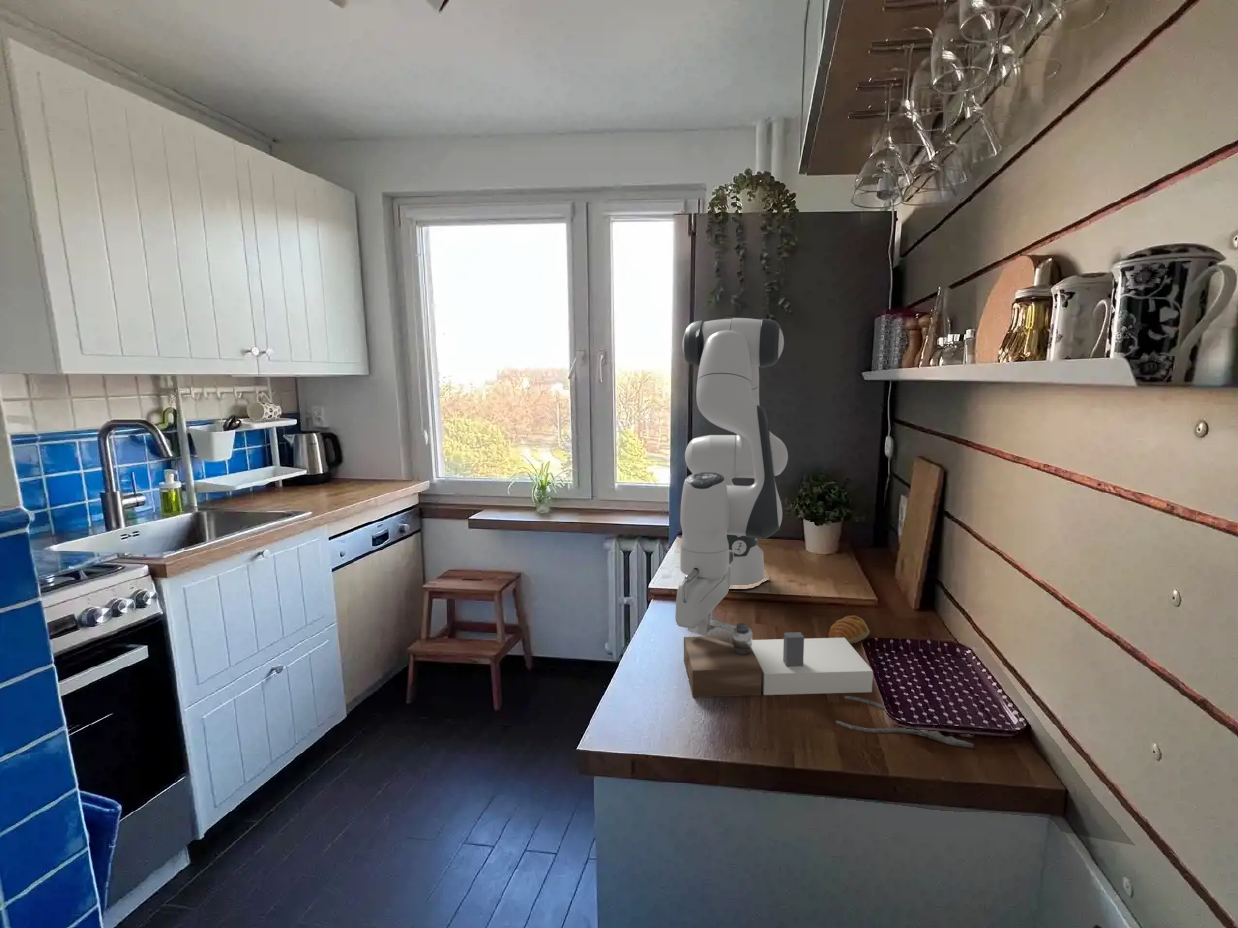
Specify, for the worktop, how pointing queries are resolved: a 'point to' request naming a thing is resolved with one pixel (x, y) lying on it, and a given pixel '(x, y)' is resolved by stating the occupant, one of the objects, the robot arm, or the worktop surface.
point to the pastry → (849, 629)
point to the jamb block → (720, 668)
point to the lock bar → (729, 633)
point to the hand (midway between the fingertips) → (703, 632)
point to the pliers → (926, 733)
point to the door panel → (811, 666)
